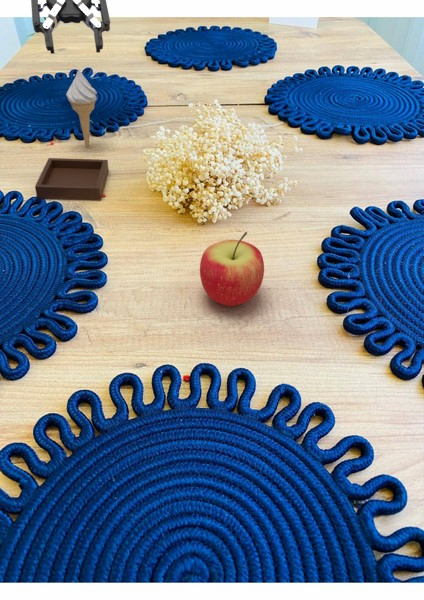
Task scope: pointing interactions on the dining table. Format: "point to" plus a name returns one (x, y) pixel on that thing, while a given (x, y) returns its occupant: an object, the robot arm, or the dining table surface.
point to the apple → (231, 271)
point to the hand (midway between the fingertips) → (75, 51)
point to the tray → (72, 179)
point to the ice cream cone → (82, 102)
